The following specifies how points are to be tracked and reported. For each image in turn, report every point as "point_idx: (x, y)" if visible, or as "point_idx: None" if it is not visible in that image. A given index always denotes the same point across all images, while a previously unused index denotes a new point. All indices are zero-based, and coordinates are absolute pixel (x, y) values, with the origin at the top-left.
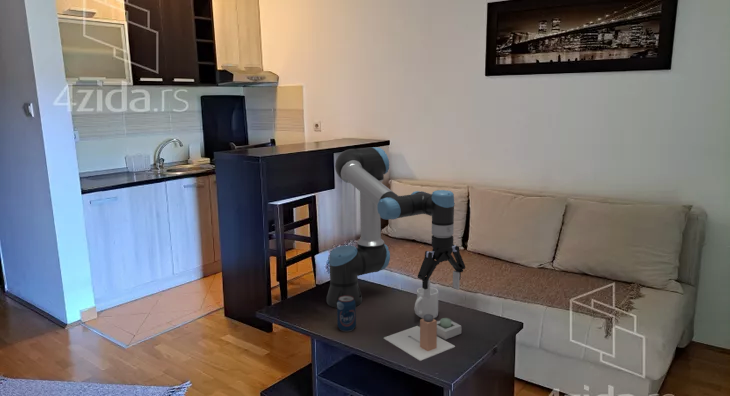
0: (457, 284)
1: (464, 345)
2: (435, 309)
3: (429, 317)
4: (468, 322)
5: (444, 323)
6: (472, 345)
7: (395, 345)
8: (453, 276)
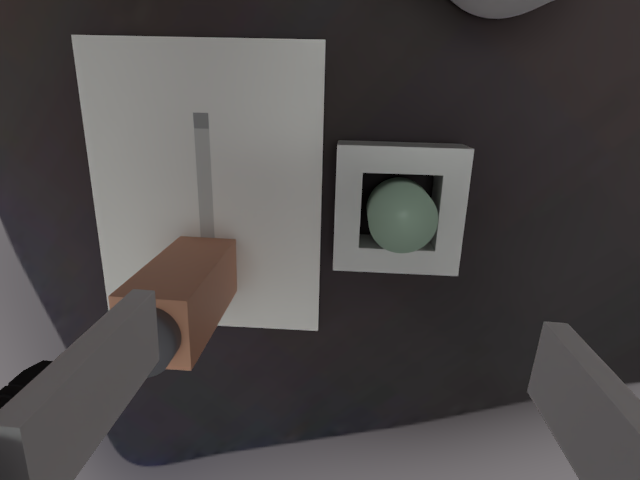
0: (555, 428)
1: (362, 343)
2: (521, 9)
3: None
4: (593, 194)
5: (372, 234)
6: (389, 363)
7: (87, 147)
8: (620, 426)
